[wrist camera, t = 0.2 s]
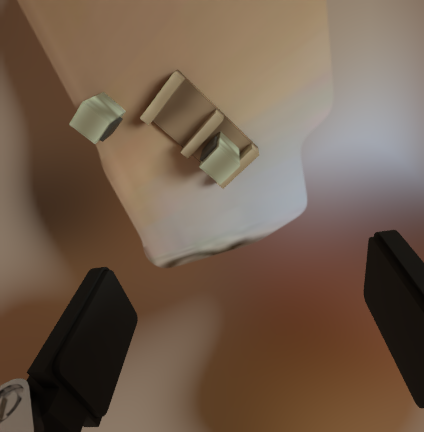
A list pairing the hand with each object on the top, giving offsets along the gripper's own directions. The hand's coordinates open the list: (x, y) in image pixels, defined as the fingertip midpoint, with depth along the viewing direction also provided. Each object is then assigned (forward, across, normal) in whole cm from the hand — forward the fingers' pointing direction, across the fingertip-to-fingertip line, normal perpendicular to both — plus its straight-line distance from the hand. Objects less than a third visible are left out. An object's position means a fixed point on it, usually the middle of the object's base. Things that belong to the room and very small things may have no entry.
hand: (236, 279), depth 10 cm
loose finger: (+37, +20, -2) cm, 42 cm away
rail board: (+37, +6, +4) cm, 37 cm away
